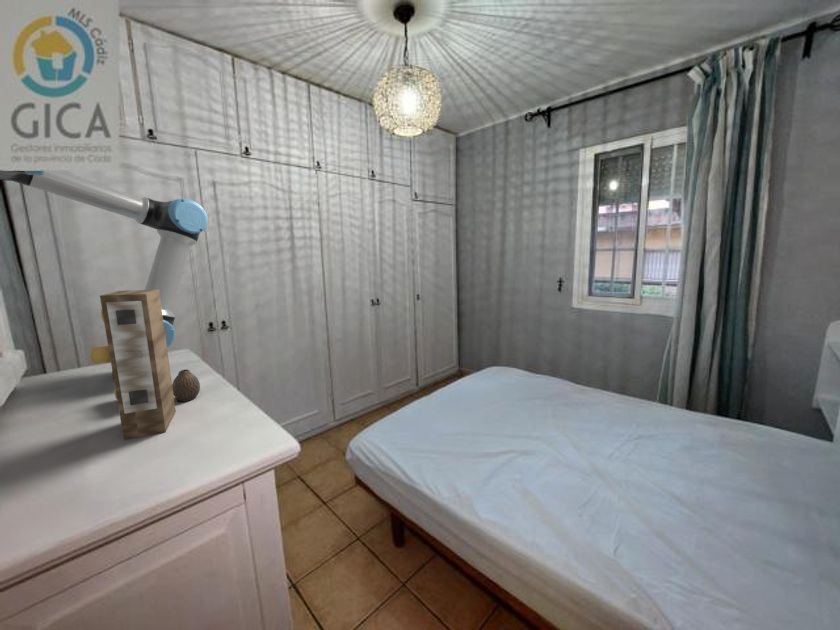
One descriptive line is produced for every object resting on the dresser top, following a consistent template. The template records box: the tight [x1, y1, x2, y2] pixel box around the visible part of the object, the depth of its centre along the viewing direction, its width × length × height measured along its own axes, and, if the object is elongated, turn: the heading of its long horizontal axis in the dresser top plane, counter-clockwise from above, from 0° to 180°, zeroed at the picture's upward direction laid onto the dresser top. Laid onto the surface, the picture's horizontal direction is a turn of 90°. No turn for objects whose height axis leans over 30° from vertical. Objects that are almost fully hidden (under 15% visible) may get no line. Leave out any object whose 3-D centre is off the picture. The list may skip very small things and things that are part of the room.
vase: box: [172, 369, 201, 402], centre depth 100 cm, size 7×7×9 cm
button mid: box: [90, 345, 111, 365], centre depth 79 cm, size 4×4×4 cm
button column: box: [99, 289, 177, 441], centre depth 82 cm, size 8×13×34 cm, turn 26°
